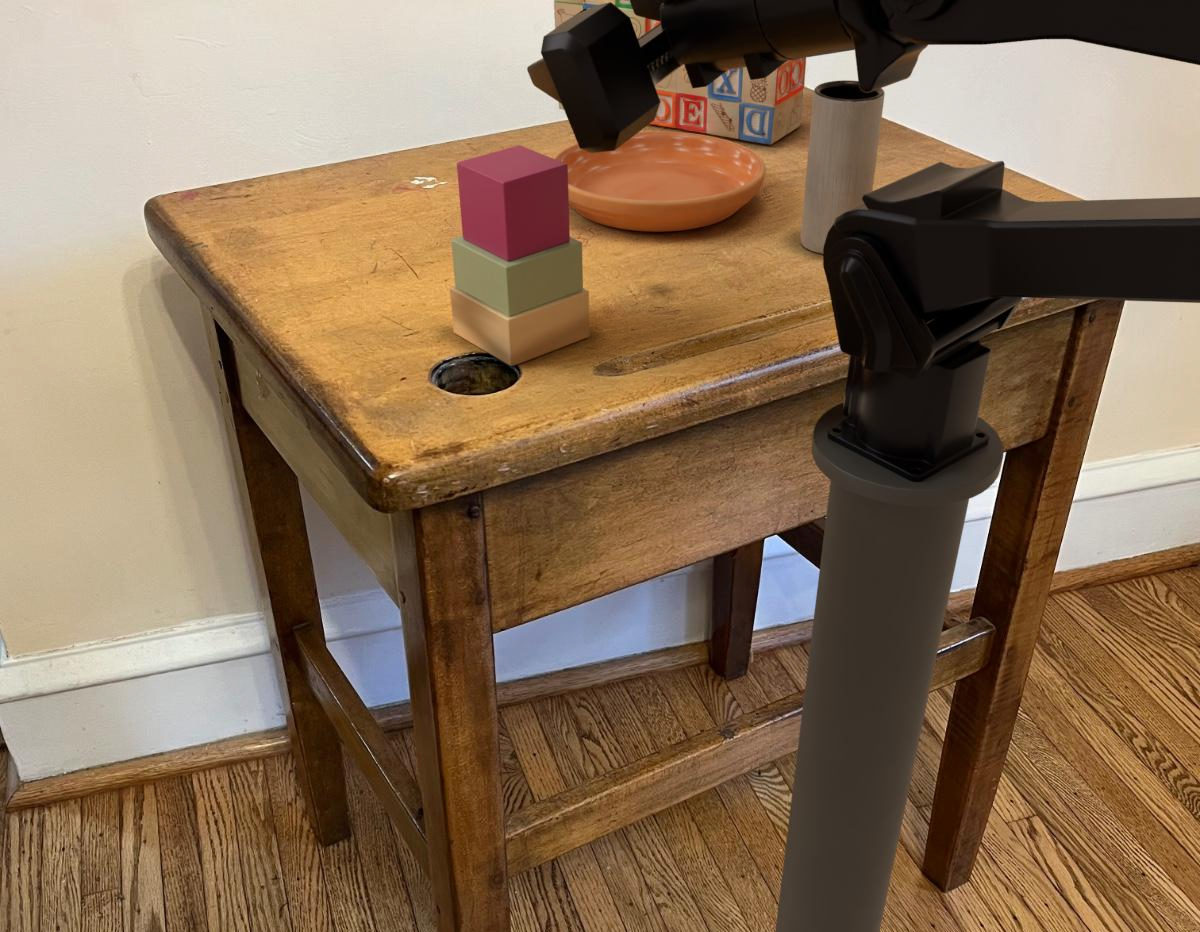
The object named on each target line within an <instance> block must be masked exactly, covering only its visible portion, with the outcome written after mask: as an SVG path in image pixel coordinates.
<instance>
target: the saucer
mask: <svg viewBox="0 0 1200 932" xmlns="http://www.w3.org/2000/svg"><path fill="white" fill-rule="evenodd" d="M553 159H555V160H558V161H560V162H563V163H565V164H567V165H568V194H569V206H571V207H572V208H573V209H574V210H575V211H576V212H577V213H578V214H579V215H581V216H583V217H584V218H586V219H588V220H589V221H592V222H594V223H597V224H599V225H600V224H601V225H603V226H607V227H611V228H615V229H620V230H626V231H627V230H628V231H637V232H651V233H652V232H653V233H654V232H655V233H656V232H658V233H659V232H661V233H662V232H679V231H686V230H694V229H699V228H704V227H707V226H711V225H714V224H718V223H719V222H722V221H724V220H726V219H728V218H729V217H731V216H733V215H734V214H735V213H736V212H737V211H738V210H739V209H741V208H742V207H743V206H745V205H746V204H747V203H749V202H750V201H751V200H752V198H753V197H754V196H756V195H757V194H758V193H759V192H760V191H761V189H762V187H763V184H764V181H765V177H766V172H767V167H766V164H765V161H764V160H763V158H762V157H761V156H760V155H759V154H758V153H756V152H755V151H754V150H751V149H750V148H748V147H746V146H744V145H742V144H739V143H737V142H734V141H730V140H728V139H724V138H721V137H717V136H713V135H712V136H711V135H706V134H699V133H692V132H681V131H680V132H679V131H639V132H638V133H637V134H636V135H634V136H633V137H632V138H630V139H629V140H628V141H626V142H625V143H624V144H622V145H621V146H620V147H618V148H617V149H616V150H614V151H606V152H597V153H589V152H587V151H585V150H583V149H580V147H579V145H578V143H577V142H576V143H574V144H572V145H570V146H568V147H566V148H564V149H562V150H561V151H559V152H558V153H557V154H556V155H554V157H553Z"/></svg>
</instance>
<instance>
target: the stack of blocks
mask: <svg viewBox="0 0 1200 932" xmlns="http://www.w3.org/2000/svg"><path fill="white" fill-rule="evenodd" d="M609 2H611V3H613V4H614V5H615V6H616V7H618V8H619V9H620V10H621V11H622V12H624V13H625V14H626V15H627V16H629V17H630V19H631V22H632V25H633V28H634V30H635V33H636V36H637V39H638V38H640V37H641V36H643V35H644V34H646V33H647V32H648V31H650V30H651V29H653V28H654V27H655V26H657V25H658V24H660V23H661V21H655V20H651V19H647V18H643V17H640V16H636V15H635V14H634V12H633V9H632V6H631V3H630V0H553V10H554V11H553V12H554V14H553V17H554V29H556V28H557V27H558V26H560V25H561V24H563V23H564V22H566V21H567V20H569V19H570V18H572V17H573V16H574V15H576V14H577V13H579V12H580V11H582V10H583V9H585V8H586V10H587V9H590V8H592V7H594V6H596V5H600V4H604V3H609ZM806 69H807V57H806V58H800V59H795V60H789V61H786V62H785V63H784V64H783V65H781V66H780V67H779V68H777V69H776V70H775V71H774V72H772V73H771V74H770V75H769V76H767V77H766V78H761V79H754V80H750V77H749V74H748V71H747V67H744V68H738V69H731V70H727V71H726V72H725V73H723V74H722V75H721V76H719V77H718V78H717V79H715V80H714V81H713V82H712V83H710V84H709V85H708V86H706V87H700V88H692V86H691V83H690V80H689V77H688V74H687V71H686V68H685V65H682V66H681V67H679V68H678V69H677V70H675V71H674V72H673V73H671V74H670V75H669V76H667V77H666V78H665V79H663V80H662V81H661V82H659V83H658V84H657V85H655V88H656V91H657V94H658V97H659V99H660V105H659V108H658V111H657V114H656V117H655V120H654V121H653V122H651V123H650V124H649V125H654V126H655V125H656V126H660V127H664V128H665V127H666V128H671V129H678V130H683V131H689V132H694V133H695V132H696V133H701V134H707V135H710V136H711V135H712V136H716V137H717V136H718V137H725V138H731V139H736V140H741V141H746V142H752V143H758V144H765V145H772V144H774V143H775V142H777V141H779V140H781V139H782V138H784V137H785V136H786V135H789V134H790V133H791V132H792V131H794V130H796V129H798V128H799V127H800V126H801V123H802V117H803V116H802V114H803V99H804V89H805V83H806V82H805V81H806ZM558 109H559V110H563V111H564V108H563V106H562V104H561V103H560V102H558Z"/></svg>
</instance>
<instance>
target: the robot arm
mask: <svg viewBox="0 0 1200 932" xmlns="http://www.w3.org/2000/svg"><path fill="white" fill-rule="evenodd" d="M630 3H631V6H632V9H633V12H634V14H635V15H636V16H640V17H643V18H647V19H651V20H655V21H661V23H660V24H658V25H657V26H655V27H654V28H653V29H651V30H650V31H648V32H647V33H646V34H644V35H643V36H641V37H640V38H638V39H637V36H636V33H635V30H634V28H633V25H632V22H631V19H630V17H629V16H627V15H626V14H625V13H624V12H622V11H621V10H620V9H619V8H618V7H616V6H615V5H614V4H613V3H611V2H609V3H604V4H600V5H596V6H594V7H592V8H590V9H587V10H586V8H585V9H583V10H582V11H580V12H579V13H577V14H576V15H574V16H573V17H572V18H570V19H569V20H567V21H566V22H564V23H563V24H561V25H560V26H558V27H557V28H556V29H555V28H554V29H553V30H550V31H549V32H548V33H547V34H545V35H544V36H543V38H542V44H541V48H540V54H541V56H542V58H539V60H537V61H535V62H532V63H531V64H530V65H528V66H527V68H526V71H527V73H528V76H529V78H530V80H531V83H532V84H533V86H534V87H535V88H537V89H538V90H540V91H541V92H543V93H544V94H546V95H547V96H548V97H550V98H552V99H554V100H555V101H557V102H558V103H559V102H560V103H561V104H562V106H563V108H564V110H563V111H564V113H565V115H566V118H567V120H568V123H569V125H570V127H571V131H572V132H573V135H574V137H575V140H576V144H577V143H578V145H579V147H580V149H583V150H585V151H587V152H589V153H597V152H606V151H614V150H616V149H617V148H618V147H620V146H621V145H622V144H624V143H625V142H626V141H628V140H629V139H630V138H632V137H633V136H634V135H636V134H637V133H638V132H642V130H643V129H645V128H646V127H647V126H649V125H651V124H650V123H651V122H653V121H654V120H655V117H656V114H657V111H658V108H659V105H660V99H659V97H658V94H657V91H656V88H655V85H657V84H658V83H659V82H661V81H662V80H663V79H665V78H666V77H667V76H669V75H670V74H671V73H673V72H674V71H675V70H677V69H678V68H679V67H681V66H682V65H685V68H686V71H687V74H688V77H689V80H690V83H691V86H692V88H700V87H706V86H708V85H709V84H710V83H712V82H713V81H714V80H715V79H717V78H718V77H719V76H721V75H722V74H723V73H725V72H726V71H727V70H731V69H738V68H744V67H747V71H748V74H749V77H750V80H754V79H761V78H766V77H767V76H769V75H770V74H771V73H772V72H774V71H775V70H776V69H777V68H779V67H780V66H781V65H783V64H784V63H785V62H786V61H789V60H795V59H800V58H806V59H807V58H811V57H817V56H818V57H819V56H825V55H831V54H838V53H843V52H850V51H854V56H855V64H856V71H857V73H856V74H857V81H858V82H859V88H860V90H861V91H862V92H864V93H869V92H871V91H874V90H877V89H880V88H882V89H883V88H885V87H888V86H891V85H893V84H896V83H900V82H901V81H904V80H907V79H909V78H911V76H912V73H913V71H914V69H915V68H916V65H917V63H918V60H919V57H920V54H921V53H922V52H923V51H924V50H925V49H926V48H927V47H928V46H978V45H979V46H982V45H983V46H984V45H995V44H1007V43H1017V42H1027V41H1028V42H1029V41H1038V40H1039V41H1041V40H1072V41H1076V42H1082V43H1087V44H1092V45H1097V46H1102V47H1107V48H1113V49H1117V50H1121V51H1127V52H1130V53H1131V52H1132V53H1137V54H1141V55H1147V56H1152V57H1157V58H1162V59H1167V60H1171V61H1177V62H1181V63H1187V64H1191V65H1197V66H1200V0H630ZM1005 166H1006V164H1005V161H1003V160H999V161H993V162H989V163H985V164H982V165H981V164H980V165H978V166H972V167H956V166H953V165H950V164H948V163H945V162H942V161H938V162H936V163H933V164H931V165H928V166H927V167H924V168H922V169H920V170H918V171H916V172H913V173H911V174H909V175H906V176H903V177H902V178H900V179H897V180H895V181H893V182H891V183H888V184H886V185H884V186H881V187H879V188H877V189H874V190H873V191H872V192H870V193H867V194H865V195H864V196H863V197H862V200H863V202H864V203H865V204H863V205H861V206H859V207H856V208H854V209H852V210H850V211H847V212H845V213H843V214H842V215H840V216H839V217H837V218H836V219H835V221H834V224H833V225H832V227H831V228H830V230H829V231H828V233H827V237H826V240H825V244H824V247H823V254H822V266H823V270H824V274H825V279H826V283H827V285H828V290H829V291H828V292H829V296H830V302H831V308H832V313H833V318H834V323H835V324H834V325H835V329H836V335H837V340H838V346H839V350H840V351H841V352H842V354H843V353H844V354H845V355H848V356H849V359H848V365H847V375H846V381H845V382H846V383H845V391H844V399H843V402H844V406H843V415H844V416H846V417H847V419H845V420H843V421H841V422H839V423H837V424H835V425H833V426H831V427H830V428H828V433H827V437H828V439H830V440H832V441H834V442H835V443H837V444H839V445H841V446H843V447H845V448H847V449H849V450H851V451H853V452H855V453H857V454H859V455H861V456H863V457H865V458H866V459H868V460H870V461H872V462H874V463H876V464H878V465H880V466H882V467H884V468H886V469H888V470H890V471H892V472H894V473H896V474H897V475H899V476H901V477H903V478H905V479H907V480H909V481H912V482H921V481H924V480H926V479H927V478H929V477H931V476H933V475H934V474H936V473H938V472H940V471H942V470H943V469H945V468H947V467H949V466H951V465H952V464H954V463H956V462H958V461H960V460H961V459H963V458H965V457H967V456H968V455H970V454H972V453H974V452H976V451H977V450H979V449H981V448H983V447H985V446H986V445H988V443H989V438H990V435H989V434H988V433H986V432H984V431H982V430H980V429H978V428H976V423H977V418H978V417H979V412H980V407H981V402H982V399H983V398H982V397H983V394H984V393H983V392H984V388H985V382H986V378H987V373H988V368H989V363H990V360H991V359H990V358H991V353H992V349H991V348H990V347H988V346H985V345H983V344H981V343H980V340H981V339H982V338H984V337H985V336H988V335H989V334H991V333H992V332H994V331H995V330H1001V329H1002V328H1004V327H1006V326H1007V324H1008V323H1009V321H1010V320H1011V318H1012V317H1013V316H1014V313H1015V312H1016V310H1017V309H1018V307H1019V305H1020V304H1021V302H1022V300H1023V298H1026V299H1056V300H1057V299H1058V300H1090V301H1091V300H1093V301H1120V302H1121V301H1122V302H1125V301H1126V302H1153V303H1154V302H1159V303H1185V304H1187V303H1191V304H1200V196H1190V197H1189V196H1187V197H1186V196H1185V197H1157V198H1156V197H1155V198H1154V197H1153V198H1152V197H1151V198H1122V199H1121V198H1120V199H1118V198H1117V199H1089V200H1086V199H1085V200H1054V201H1052V200H1051V201H1035V200H1029V199H1025V198H1022V197H1020V196H1018V195H1016V194H1014V193H1011V192H1010V191H1007V190H1006V189H1003V186H1004V175H1005Z"/></svg>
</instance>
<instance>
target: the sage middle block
mask: <svg viewBox="0 0 1200 932" xmlns="http://www.w3.org/2000/svg"><path fill="white" fill-rule="evenodd" d="M450 244H451V254H452V255H451V256H452V264H453V265H452V266H453V276H454V286H456V287H457V288H458V289H460V290H462V291H464V292H466V293H467V294H469V295H471V296H473V297H475V298H477V299H478V300H480V301H482V302H484V303H486V304H487V305H489V306H491V307H493V308H495V309H496V310H498V311H500V312H502V313H504V314H506V315H507V316H513V315H516V314H518V313H521V312H524V311H527V310H529V309H532V308H535V307H538V306H541V305H543V304H546V303H549V302H552V301H554V300H557V299H560V298H563V297H566V296H568V295H571V294H574V293H577V292H579V291H582V290H583V289H584V275H583V273H584V272H583V271H584V268H583V243H582V241H580V240H578V239H575V238H574V237H571V236H570V241H569V242H566V243H563V244H560V245H557V246H554V247H551V248H548V249H545V250H542V251H539V252H536V253H533V254H530V255H527V256H524V257H521V258H518V259H515V260H512V261H509V262H508V261H506V260H504V259H502V258H500V257H498V256H496V255H494V254H492V253H490V252H488V251H486V250H484V249H482V248H480V247H478V246H476V245H474V244H472V243H470V242H468V241H466V240H464V239H463V235H460V236H457V237H454V238H451V240H450Z"/></svg>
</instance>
